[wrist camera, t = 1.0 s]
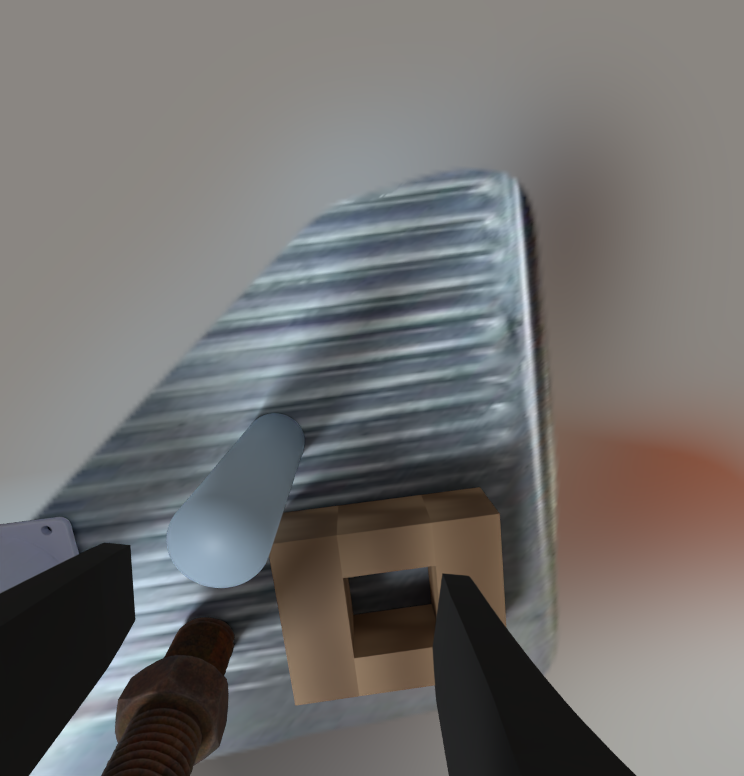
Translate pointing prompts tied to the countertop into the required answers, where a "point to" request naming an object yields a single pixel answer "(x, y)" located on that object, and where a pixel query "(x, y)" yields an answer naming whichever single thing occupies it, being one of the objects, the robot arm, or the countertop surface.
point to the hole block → (371, 556)
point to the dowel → (238, 506)
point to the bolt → (175, 705)
